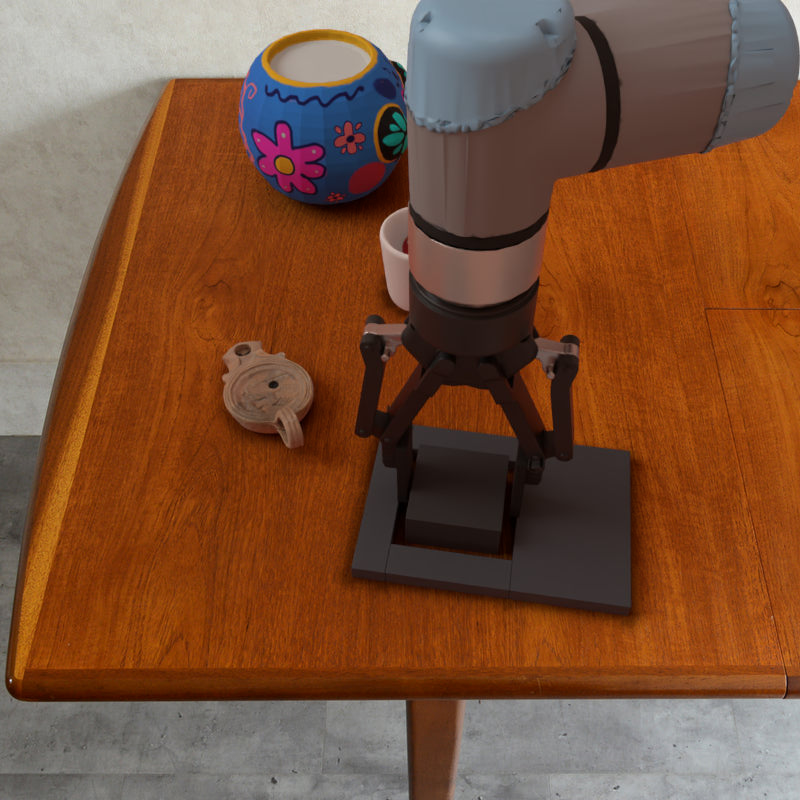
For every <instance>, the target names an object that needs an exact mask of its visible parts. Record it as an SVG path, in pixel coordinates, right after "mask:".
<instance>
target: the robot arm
mask: <svg viewBox="0 0 800 800" xmlns="http://www.w3.org/2000/svg"><path fill="white" fill-rule="evenodd" d="M408 34H409V35H408V42H407V57H406V72H407V75H406V82H405V89H404V101H405V104H406V105H407V134H408V147H407V159H408V163H407V164H408V199H409V200H408V202H407V207H408V262H409V266H410V269H409V312H408V315H407V317H406V318H405V320H404V322H403V323H386V320H385V319H384V318H383V317H382V316H381V315H378V314H369V315H368V316H367V317H366V319H365V324H364V327H363V330H362V335H361V338H360V341H359V351H360V354H361V357H362V361H363V364H364V366H365V368H364V374H363V381H362V384H361V390H360V397H359V402H358V408H357V414H356V420H355V425H354V430H353V431H354V434H355V436H357V437H358V438H362V439H367V438H370V437H371V436H373V437H375V438H377V439H378V440H379V442H381V443H382V462H383V464H384V466H385V467H388V468H396V469H397V497H398V502H401V503H406V504H408V502H409V497H410V492H411V486H412V481H413V476H414V471H413V470H414V462H413V461H414V460H413V459H414V458H413V436H412V425H413V421H415V419H416V418H417V416H418V415H419V413H420V412H421V410H422V409H423V408H424V406H425V405H426V404H427V402H428V400H429V399H430V398H434V396H435V395H436V394H437V392H438V391H439V389H440V388H441V386H448V387H462V386H463V387H465V386H466V387H470V388H474V389H477V390H484V391H488V392H489V393H490V395H491V397H492V400H493V402H494V403H495V405H497V406H500V407H501V409H502V412H503V414H504V416H505V417H506V419H507V421H508V423H509V425H510V428H511V429H512V431H513V434H514V435H515V437H517V439H518V441H519V442H518V449H517V456H516V464H515V471H513V479H512V487H511V496H510V506H509V515H508V516H509V517H513V518H516V517H520V510H521V504H522V497H523V491H524V485H525V484H529V485H538V484H539V483H540V482H541V478H542V473H543V471H544V469H545V460H546V459H548V458H550V457H556V459H558V460H559V461H564V462H566V461H570V460H571V459H573V448H574V444H575V415H574V411H575V410H574V391H573V383H574V381H575V379H576V377H577V375H578V373H579V370H580V350H581V349H580V348H581V340H580V338H579V337H578V336H577V335H575V334H569V333H568V334H565V335H563V336H562V337H561V338H560V339H559V341H557V340H552V339H549V338H545V337H540V333H539V331H538V329H537V328H536V326H535V316H536V309H537V303H538V295H539V286H540V281H541V280H540V279H541V278H540V273H541V271H542V265H543V257H544V251H545V245H546V239H547V238H546V237H547V231H548V223H549V216H550V209H551V208H550V207H551V201H552V196H553V190H554V186H555V182H557V181H558V180H563V179H567V178H572V177H577V176H582V175H586V174H590V173H597V172H599V171H603V170H610V169H615V168H621V167H626V166H630V165H636V164H637V165H638V164H642V163H647V162H653V161H658V160H664V159H670V158H674V157H675V158H676V157H681V156H687V155H693V154H699V155H704V154H705V155H706V154H708V153H711V152H712V151H713V150H715V149H717V148H721V147H725V146H728V145H731V144H734V143H735V144H736V143H740V142H743V141H747V140H750V139H753V138H758V137H759V136H762V135H764V134H766V133H767V132H769V131H771V130H772V129H773V128H774V127H775V126H777V124H778V123H779V122H780V121H781V120H782V119H783V117H784V116H785V114H786V112H787V111H788V109H789V107H790V105H791V102H792V99H793V97H794V90H795V88H796V86H797V84H798V81H799V76H800V40H799V34H798V30H797V27H796V24H795V21H794V19H793V17H792V15H791V12H790V11H789V9H788V7H787V6H786V4H785V3H784V2H783V1H782V0H419V1H418V2H417V4H416V6H415V8H414V11H413V13H412V15H411V19H410V25H409V33H408ZM400 346H403V348H405V350H406V351H407V352H408V353H409V354H410V355H411V356H412V357H413V358H414V359H415V360H416V361H417V363H418V364H417V365H416V367H415V368H414V370H413V371H412V373H411V374H410V376H409V377H408V379H407V380H406V382H405V383H404V385H403V386H402V388H401V389H400V391H399V392H398V394H397V396H396V397H395V398H394V399H393V401H392V403H391V404H387V407H386V412H385V411H383V410H380V409H378V407H379V403H380V397H381V392H382V388H383V384H384V383H383V382H384V377H385V371H386V367H387V363H388V362H389V361H390V358H392V357H394V356H395V355H396V353H397V350H398V348H399V347H400ZM535 359H536V360H537V361H539V363H541V369H542V371H543V372H544V373H545V377H546V379H548V380H550V389H549V390H550V393H549V394H550V404H551V405H550V406H551V418H552V419H551V420H552V430H551V429H550V430H548V429H547V427H546V425H545V423H544V421H543V419H542V417H541V415H540V412H539V411H538V408H537V406H536V404H535V402H534V400H533V398H532V395H531V394H530V391H529V390H528V387H527V385H526V383H525V380H524V378H523V377H522V374H521V370H522V369H524V368H525V367H527V366H528V365H529V364H531V363H532V362H534V360H535Z"/></svg>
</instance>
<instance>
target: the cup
mask: <svg viewBox="0 0 800 800" xmlns="http://www.w3.org/2000/svg"><path fill="white" fill-rule="evenodd" d="M379 242H380V247H381V249H380V250H381V254H382V262H383V268H384V274H385V281H386V287H387V292H388V294H389V297H390V299H391V301H392V302H393V303H394V304H395V305H396V306H397V307H399V308H400V309H402V310H403V311H406V312H408V313H409V269H410V266H409V262H408V206H406V207H402V208H400V209H398V210H396V211H394V212H393V213H391V214H389V215H388V216H387V217H386V218H385V219H384V221H383V222H382V224H381V226H380V229H379Z"/></svg>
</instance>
